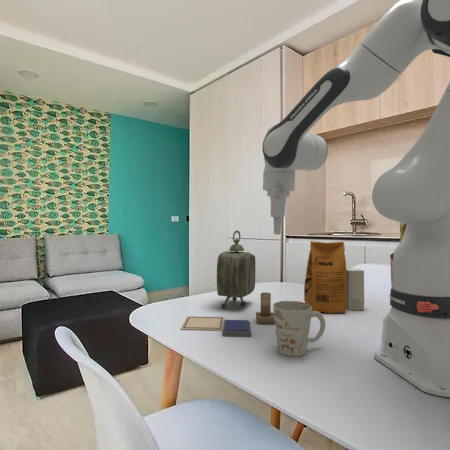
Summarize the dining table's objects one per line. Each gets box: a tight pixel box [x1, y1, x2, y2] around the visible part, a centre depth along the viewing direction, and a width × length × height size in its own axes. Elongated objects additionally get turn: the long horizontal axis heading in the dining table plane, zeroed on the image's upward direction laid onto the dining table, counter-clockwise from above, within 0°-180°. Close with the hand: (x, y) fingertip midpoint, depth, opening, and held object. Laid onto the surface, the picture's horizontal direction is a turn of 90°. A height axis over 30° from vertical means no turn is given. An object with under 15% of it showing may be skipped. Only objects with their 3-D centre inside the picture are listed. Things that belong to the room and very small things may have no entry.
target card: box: [180, 315, 226, 331], centre depth 91 cm, size 11×11×1 cm
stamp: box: [255, 292, 275, 326], centre depth 94 cm, size 5×5×8 cm
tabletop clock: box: [216, 230, 256, 309], centre depth 111 cm, size 14×9×25 cm, turn 160°
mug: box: [272, 300, 326, 357], centre depth 74 cm, size 8×13×10 cm, turn 111°
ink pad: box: [221, 319, 252, 338], centre depth 86 cm, size 9×7×2 cm
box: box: [346, 268, 365, 311], centre depth 109 cm, size 5×4×13 cm
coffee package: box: [303, 240, 347, 315], centre depth 107 cm, size 10×12×22 cm
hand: (277, 233), depth 95 cm, fingers open, 8 cm apart
